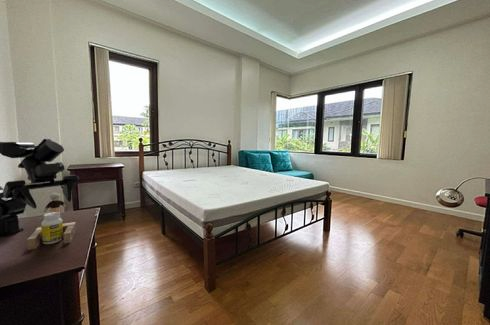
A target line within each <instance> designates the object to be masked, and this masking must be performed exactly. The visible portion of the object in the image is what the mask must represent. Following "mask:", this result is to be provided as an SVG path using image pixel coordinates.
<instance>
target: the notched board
mask: <svg viewBox="0 0 490 325" xmlns="http://www.w3.org/2000/svg"><path fill="white" fill-rule="evenodd" d="M76 224H77V223H76V221H74V222H73V221H72V222H66V223H63V244H65V245H66V244H70V243H71V242H72V240H73V238H74V236H75V234H76V232H77V225H76ZM26 243H27V250H28V251H29V250H30V251H31V250H36V248H38V246H39V245H40V243H42V232H41V226H37V228H36V229H35V231H34V232H33V233H31V235H30V236H29V237H28V238H27V239H26Z"/></svg>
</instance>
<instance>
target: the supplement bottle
mask: <svg viewBox="0 0 490 325" xmlns="http://www.w3.org/2000/svg"><path fill="white" fill-rule="evenodd" d="M60 216H61V212H60V213H59V212H52V213H50V212H48V213H47V212H46V213H45V214H44V215H43V221H41V224H40V227H41V232H42V241H41V243H42V244H43V245H51V244H56V243H59V242H60V241H62V240H64V236H63V224H64V223H63V219H62V217H61V218H59V217H60Z"/></svg>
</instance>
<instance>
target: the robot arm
mask: <svg viewBox="0 0 490 325" xmlns="http://www.w3.org/2000/svg"><path fill="white" fill-rule="evenodd" d="M64 150H65V148H64V147H63V146H62V144H59V143H57V141H53V140H52V139H50V138H43V139H42V140H41V142H40V143H39V144H37V145H35V143H33V142H28V141H0V155H1V156H4V157H6V158H10V159H22V158H23V159H22V160H21V162H20V163H18V165H17V168H20V169H24V170H25V173H26V175H27V180H28V181H29V183H26V181H25V180H24V179H21V180H10V181H7V182H6V183H5V184H4V186H3V187H2V186H1V185H0V238H1V237H6V236H9V235H12V234H15V233H18V232H21V231H24V229H25V228H23V227H20V220H19V216H18V215H21V214H22V215H23V214H24V213H25V210H26V207H27V205H28V206H29V207H30V208H31V209H37V207H38V206H37V204H36V201H35V200H34V198H33V196H32V194H31V192H30V190H35V189H37V190H38V189H41V190H42V189H46V188H55V187H60V188H61V189H62V190H61V191H62V193H63V195H64V197H65V199H66V201H68V202H69V203H70V202H71V201H72V191H73V189H75V188H76V187H77V185H78V183H79V182H80V177H79V176H78V175H77V174H70V175H64V176H63V178H62V179H60V180H55V179H57V177H58V176H57V174H59V173H61V172H62V173H63V171H64V170H65V165H64V163H63V162H62V161H61V162H60V161H57V162H55V163H52V162H54V160H55V159H56V158H57V157H59V156H60V155H61V154H62V153H64Z"/></svg>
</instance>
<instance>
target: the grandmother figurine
mask: <svg viewBox="0 0 490 325" xmlns="http://www.w3.org/2000/svg"><path fill="white" fill-rule="evenodd" d="M60 197H61V194H60V193H57V192H52V193H51V194H50V195H49V199H51V200H50V201H49V202H48V203H47V204H46V206H45V208H44V210H43V213H47V212H48V210H49V213H52V212H59V213H60V214H61V206H62V207H63V208H66V204H65V202H64V201H63V200H61V199H60ZM59 199H60V200H59ZM59 218H61V219H62V217H61V215H60V217H59Z"/></svg>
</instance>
